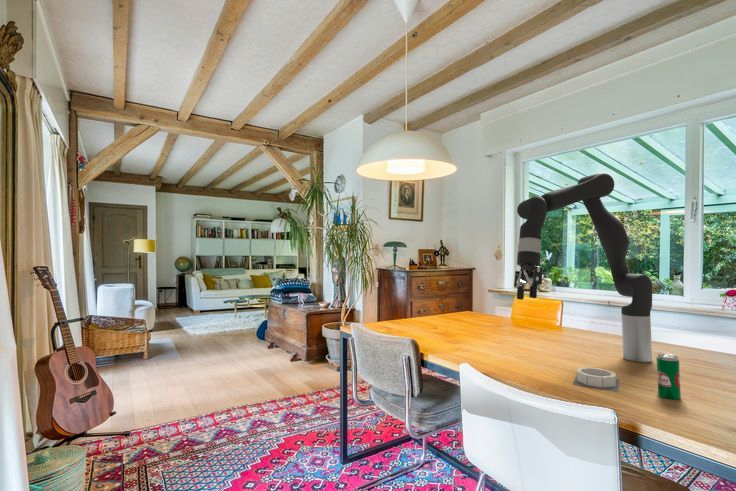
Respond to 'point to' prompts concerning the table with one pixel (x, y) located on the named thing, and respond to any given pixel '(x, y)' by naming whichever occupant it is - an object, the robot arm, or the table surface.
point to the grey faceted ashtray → (596, 377)
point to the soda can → (668, 376)
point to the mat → (597, 387)
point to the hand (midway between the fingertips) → (526, 298)
